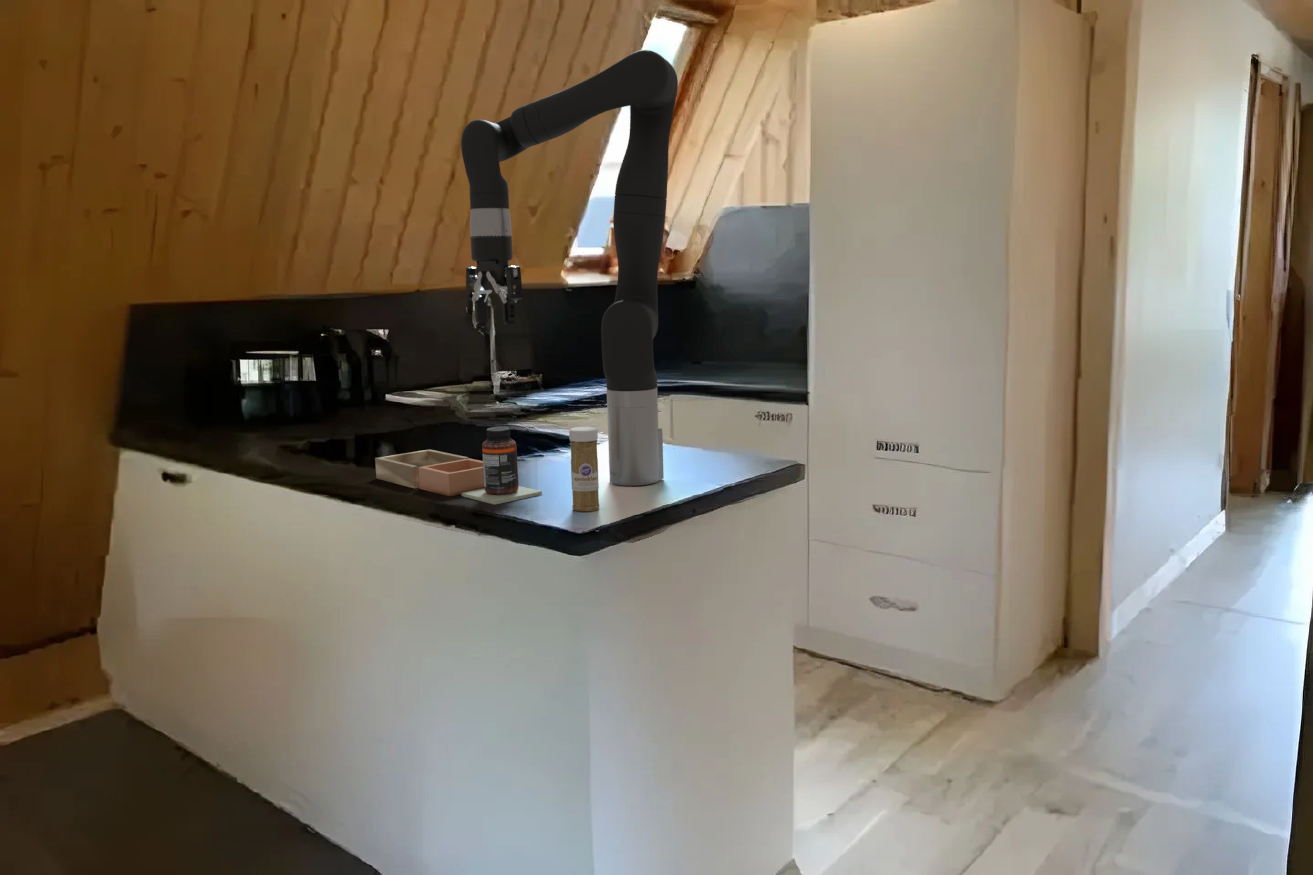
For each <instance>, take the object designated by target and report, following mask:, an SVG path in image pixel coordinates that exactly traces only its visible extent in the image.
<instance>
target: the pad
mask: <svg viewBox="0 0 1313 875" xmlns="http://www.w3.org/2000/svg"><path fill="white" fill-rule="evenodd" d="M460 495H461V497H463V498H467V499H471V500H474V501H479V502H483V503H487V504H490V505H500V504H503V503H509V502H513V501H518V500H523V499H526V498H533V497H537V496H541V495H543V492H542V490H538V489H534V488H529V487H524V486H520V485H518V490H517V491H516V492H514V493H511V494H503V495H492V494H488V493H487V492H485V488H484V489H479V490H473V491H468V492H463V493H461V494H460Z"/></svg>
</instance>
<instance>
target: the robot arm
mask: <svg viewBox="0 0 1313 875" xmlns="http://www.w3.org/2000/svg"><path fill="white" fill-rule="evenodd" d="M678 82H679V80H678V75H677V72H676V70H675V68H674V67H673V65H672V63H670V61H668V60H667V59H666V58H665V57H663V56H662V55H661V54H659V53H658V52H656V51H654V50H651V49H640V50H636V51H634V52H632V53H631V54H628V55H627V56H625V57H623V58H622V59H620V60H618V61H616V62H614V64H612V65H611V66H609V67H607V68H605V69H604V70H602V71H600V72H599V73H596V74H595V75H593V76H591V77H589V78H587V79H585V80H583V81H582V82H579V83H576V84H575V85H572V86H570V87H568V88H565V89H563V90H561V91H560V90H559V91H558V92H554V93H552V94H550V95H548V96H545V97H542V98H539V99H538V100H535V101H531V102H529V103H527V104H526V103H525V105H522V106H520V107H517V108H516V109H514V110H513V111H512V112H511V116H509V117H506V118H505V119H504V118H503V119H502V120H499V121H496V122H491V121H488V120H486V119H485V120H484V119H474V120H472V121H469V123H468V124H467V125H466V126H465V127H464V129H463V131H462V134H461V141H460V147H461V156H462V160H463V165H464V170H465V173H466V177H467V180H468V185H469V207H470V208H469V209H470V214H469V236H470V239H469V240H470V254H471V255H470V256H471V260H472V261H473V262H476V266H471V267H469V266H468V267H466V269H465V287H466V288H465V291H466V292H465V293H466V294H465V296H466V299H467V300H471V301H472V303H473V304H474V316H475V317H474V318H475V323H476V324H486V323H487V322H488V320H489V318H488V305H487V304H488V303H487V302H486V301H487V300H488V297H489V294H492V292H493V291H494V293H495V294H497V295H499V297H500V300H501V302H502V304H501V309H502V323H503V324H504V325H513V324H515V322H516V303H517V302H518V301H519V300H522V299H523V283H522V273H521V272H522V271H521V270H522V268H521V266H519V265H509V261H511V260H512V259H513V258H514V256H513V255H514V254H513V235H512V232H513V230H512V219H511V214H510V198H509V186H508V181H507V179H506V178H505V177H504V176H503V174H502V172H501V166H500V163H501V162H503V161H508V160H510V159H511V158H513V157H516V156H517V155H519V154H521V153H523V152H524V151H526V150H527V149H529V148H530V147H533V146H537V145H540V144H542V143H545V142H548V141H551V140H553V139H556V138H559V137H561V136H563V135H565V134H568V133H569V132H571V131H573V130H574V129H576V128H577V127H580V126H581V125H582V124H584V123H585V122H587V121H589V120H590V119H592V118H595V117H596V116H599V115H601V114H603V113H606V112H608V111H611V110H616V109H621V108H624V107H625V108H626V107H629V115H630V116H629V134H628V136H629V137H628V142H627V146H626V150H625V153H624V156H623V158H622V161H621V164H620V167H619V171H618V175H617V178H616V184H615V191H614V202H613V215H612V216H613V217H612V218H613V224H612V225H613V235H614V243H615V251H616V256H617V258H616V259H617V266H618V267H617V268H618V269H617V282H616V283H617V284H616V290H615V298H614V302H613V303H612V304H611V305H610V306H609V307H608V308H607V309H606V310H605V311H604V314H603V316H602V320H601V325H600V326H601V328H600V333H601V338H600V339H601V354H602V356H601V357H602V369H603V374H604V377H605V381H606V382H605V384H606V404H607V405H606V406H607V407H606V408H607V413H606V414H607V437H608V438H607V439H608V440H607V441H608V467H609V483H611V484H614V485H619V486H630V487H631V486H646V485H653V484H655V483H659V481H661V480H663V479H664V477H665V476H664V446H663V444H664V443H663V442H664V439H663V438H664V436H663V434H664V433H663V429H662V427H659V408H658V406H659V403H658V376H657V375H658V374H657V371H656V369H655V368H656V366H655V362H654V339H655V337H656V336H657V333H658V327H659V308H658V306H659V304H658V301H659V300H658V274H659V266H660V260H661V253H662V247H663V240H664V231H665V223H666V216H667V214H666V212H667V202H668V201H667V200H668V199H667V198H668V197H667V196H668V181H669V179H668V178H669V150H670V149H669V148H670V143H669V142H670V136H671V135H670V134H671V129H672V128H671V127H672V122H673V117H674V110H675V106H676V101H677V100H676V99H677V95H678V88H679V86H678V85H679V83H678ZM514 290H516V291H514ZM473 291H474V292H473Z"/></svg>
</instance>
